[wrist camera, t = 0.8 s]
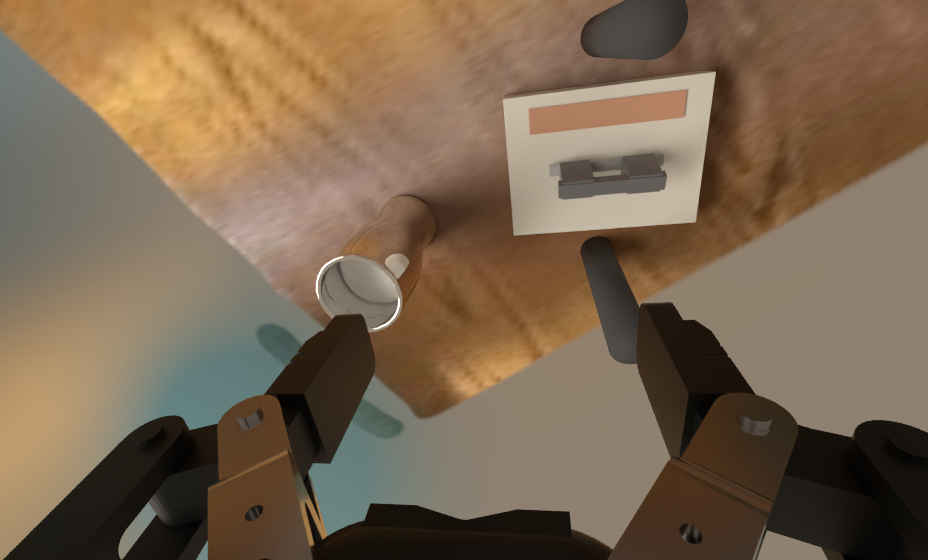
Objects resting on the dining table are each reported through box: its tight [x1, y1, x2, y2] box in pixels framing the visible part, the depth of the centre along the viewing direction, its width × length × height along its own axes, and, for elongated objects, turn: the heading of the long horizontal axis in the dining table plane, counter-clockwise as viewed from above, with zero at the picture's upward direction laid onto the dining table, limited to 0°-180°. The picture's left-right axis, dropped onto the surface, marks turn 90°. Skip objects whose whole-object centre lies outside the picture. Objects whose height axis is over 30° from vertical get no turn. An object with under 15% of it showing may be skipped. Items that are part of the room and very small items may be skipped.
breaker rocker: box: [549, 153, 667, 200], centre depth 34 cm, size 2×9×4 cm, turn 98°
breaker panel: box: [503, 70, 716, 235], centre depth 37 cm, size 12×16×3 cm
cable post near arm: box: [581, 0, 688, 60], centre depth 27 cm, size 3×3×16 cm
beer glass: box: [316, 195, 436, 332], centre depth 37 cm, size 7×7×15 cm
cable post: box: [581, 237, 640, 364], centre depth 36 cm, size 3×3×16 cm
